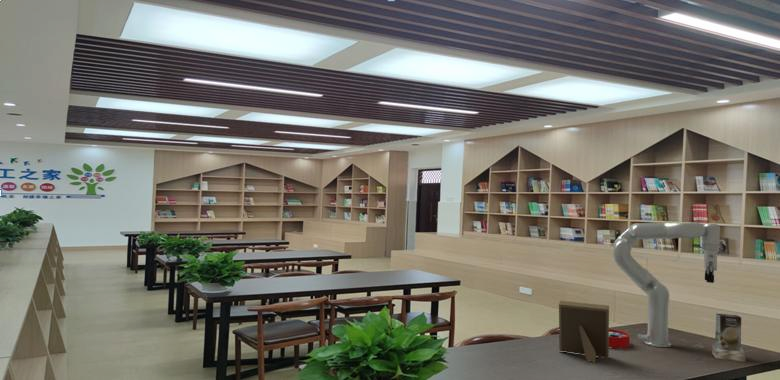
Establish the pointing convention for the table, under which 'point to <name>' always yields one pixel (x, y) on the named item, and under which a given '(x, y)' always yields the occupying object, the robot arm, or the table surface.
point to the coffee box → (728, 332)
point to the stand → (729, 354)
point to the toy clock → (618, 339)
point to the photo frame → (584, 329)
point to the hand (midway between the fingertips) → (709, 281)
